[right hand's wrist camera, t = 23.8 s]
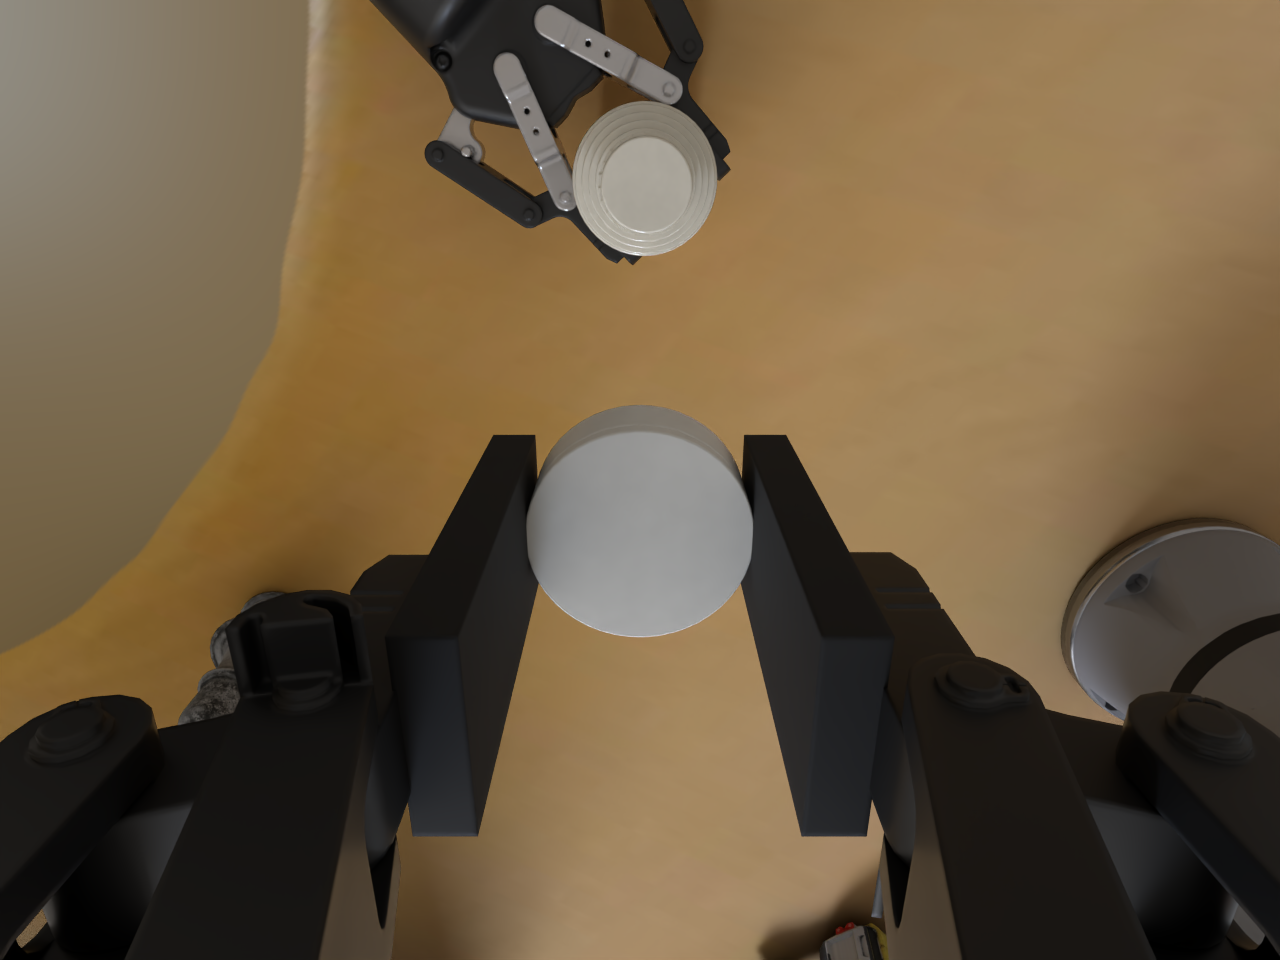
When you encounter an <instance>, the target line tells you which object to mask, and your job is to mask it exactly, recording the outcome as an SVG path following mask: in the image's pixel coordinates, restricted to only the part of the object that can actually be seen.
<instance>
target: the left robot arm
mask: <svg viewBox="0 0 1280 960" xmlns="http://www.w3.org/2000/svg"><path fill="white" fill-rule="evenodd" d="M370 1H371V2H372V3H373V5H374V6H375V7H376V8H377V9H378V10H379V11H380V12H381V13H382V14H383V15H384V16H385V17H386V18H387V19H388V21H389V22H390V23H391V24H392V25H393V26H394V27H395V28H396V29H397V30H398V31H399V32H400V33H401V34H402V35H403V37H404V38H405V39H406V40H407V41H408V42H409V43H410V44H411V45H412V46H413V47H414V48H415V49H416V50H417V52H418V53H419V54H420V55H421V56H422V57H423V58H424V59H425V60H426V61H427V62H428V63H429V64H430V65H431V66H432V68H433V69H434V70H435V71H436V72H437V73H438V74H439V76H440V77H441V79H442V80H443V82H444V84H445V86H446V88H447V91H448V94H449V98H450V101H451V103H452V105H453V106H454V109H453V111H452V113H451V115H450V116H449V118H448V120H447V122H446V124H445V126H444V128H443V130H442V132H441V134H440V136H439V138H438V140H435V141H432V142H430V143H429V144H428V145H427V146H426V148H425V158H426V161H427V162H428V164H429V165H430V166H432V167H433V168H435V169H436V170H438V171H439V172H441V173H442V174H444V175H445V176H447V177H448V178H450V179H451V180H453V181H454V182H456V183H458V184H459V185H461V186H462V187H464V188H465V189H467V190H468V191H470V192H471V193H473V194H474V195H476V196H477V197H479V198H480V199H482V200H484V201H485V202H487V203H488V204H490V205H491V206H493V207H494V208H496V209H497V210H499V211H500V212H502V213H503V214H505V215H506V216H508V217H510V218H511V219H513V220H514V221H516V222H517V223H519V224H520V225H522V226H523V227H526V228H534V227H536V226H537V225H540V224H542V223H544V222H546V221H548V220H550V219H552V218H555V217H565V218H568V219H569V220H571V221H572V222H573V223H574V224H575V225H576V226H577V227H578V228H579V230H580V231H581V232H582V233H583V234H584V235H585V236H586V237H587V238H588V239H589V240H590V241H591V242H592V243H593V245H594V246H595V247H596V248H597V249H598V250H599V251H600V252H601V253H602V254H603V255H604V256H605V257H606V258H607V259H609V260H611V261H613V262H615V263H618V262H619V261H620V260H621V259H622V258H623V257H625V258H626V259H627V260H628V261H629V262H630V263H631V264H632V265H634V264H635V263H636V262H637V261H638V260H639V259H640V258H641V257H642V256H637V255H630V254H627V253H623V252H620V251H618V250H616V249H614V248H612V247H610V246H608V245H607V244H605V243H604V242H603V241H601V240H600V239H599V238H598V237H597V236H596V235H595V234H594V233H593V232H592V231H591V230H590V229H589V227H588V226H587V225H586V223H585V222H584V220H583V218H582V216H581V214H580V212H579V210H578V207H577V205H576V201H575V197H574V192H573V185H572V173H573V171H572V168H571V166H570V164H569V161H568V159H567V157H566V154H565V151H564V148H563V146H562V143H561V141H560V139H559V136H558V134H557V132H556V129H555V128H558V127H559V126H560V125H561V123H562V122H563V121H564V120H565V119H566V118H567V117H568V116H569V114H570V112H571V110H572V108H573V106H574V104H575V102H576V101H577V100H578V99H579V98H581V97H582V96H584V95H585V94H587V93H589V92H590V91H592V90H593V89H594V88H595V87H596V86H597V85H598V83H599V82H600V81H601V80H602V79H603V76H605V77H607V78H609V79H611V80H612V81H614V82H616V83H618V84H620V85H622V86H624V87H626V88H628V89H630V90H632V91H634V92H636V93H638V94H640V95H641V96H643V97H645V98H647V99H649V100H651V101H653V102H659V103H663V104H666V105H670V106H672V107H674V108H676V109H678V110H680V111H681V112H683V113H684V114H686V115H687V116H688V117H690V118H691V119H692V120H693V121H694V122H695V123H696V124H697V125H698V126H699V128H700V129H701V130H702V131H703V133H704V135H705V136H706V138H707V139H708V142H709V144H710V146H711V148H712V151H713V154H714V157H715V162H716V167H717V180H719V181H720V180H721V179H722V178H723V177H724V176H725V175H726V174H727V173H728V172H729V171H730V170H731V169H730V168H729V166H728V165H727V164H726V163H725V161H724V160H723V159H724V158H725V157H726V156H727V155H728V154H729V153H730V149H729V146H728V143H727V140H726V139H725V137H724V136H723V135H722V134H721V133H720V131H719V130H718V129H717V128H716V127H715V125H714V124H713V123H712V122H711V121H710V119H709V118H708V117H707V116H706V115H705V113H704V112H703V111H702V110H701V109H700V107H699V106H698V105H697V104H696V103H695V101H694V100H693V99H692V98H691V96H690V94H689V91H688V81H689V78H690V75H691V73H692V71H693V69H694V67H695V65H696V63H697V60H698V58H699V57H700V56H701V54H702V51H703V41H702V39H701V36H700V34H699V32H698V30H697V28H696V26H695V24H694V22H693V20H692V18H691V16H690V14H689V12H688V10H687V7H686V5H685V3H684V1H683V0H645V2H646V4H647V6H648V8H649V10H650V12H651V14H652V16H653V18H654V20H655V22H656V24H657V26H658V28H659V30H660V32H661V34H662V36H663V38H664V40H665V42H666V44H667V46H668V48H669V50H670V52H671V53H670V55H669V57H668V60H667V62H666V64H665V66H664V69H662V68H660V67H658V66H656V65H655V64H653V63H651V62H649V61H647V60H646V59H644V58H642V57H641V56H639V55H638V54H637V53H635V52H633V51H632V50H630V49H628V48H626V47H625V46H623V45H621V44H619V43H617V42H616V41H614V40H612V39H610V38H608V37H607V36H606V34H605V27H604V19H603V12H602V4H601V0H370ZM475 120H476V121H481V122H486V123H491V124H496V125H501V126H506V127H511V128H516V129H520V130H521V133H522V135H523V137H524V139H525V142H526V144H527V146H528V148H529V151H530V153H531V155H532V157H533V159H534V161H535V163H536V165H537V166H538V168H539V170H540V172H541V175H542V177H543V179H544V181H545V184H546V186H547V188H548V191H546V192H544V193H542V194H540V195H538V196H533V195H532V194H530V193H529V192H527V191H526V190H524V189H523V188H521V187H520V186H518V185H517V184H515V183H514V182H512V181H511V180H509V179H508V178H506V177H505V176H503V175H502V174H500V173H499V172H497V171H496V170H494V169H493V168H491V167H490V166H488V165H487V164H485V163H484V162H483V160H484V158H485V148H484V145H483V144H482V143H481V142H480V141H479V140H478V139H477V138H476V136H475V134H474V130H473V125H474V122H475Z"/></svg>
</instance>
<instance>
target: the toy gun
mask: <svg viewBox="0 0 1280 960" xmlns="http://www.w3.org/2000/svg"><path fill="white" fill-rule="evenodd" d="M819 953H820V960H889V955H888V946H887V937H886V935H885V934H884V933H883V932H882V931H881V930H880V929H879V928H878V927H877V926H875V925H873V924H872V923H870V924H867V925H865V926H858V927H857V926H856V925H855V924H854V923H852V922H851V923H847V925H846V926H845V928H842V927H838V928H837V929H836V935H835V936H834V937H832V938H830V939H828V940H826V941H824V942H823V944H822V946H821V948H820V950H819Z"/></svg>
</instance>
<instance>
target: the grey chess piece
mask: <svg viewBox="0 0 1280 960" xmlns="http://www.w3.org/2000/svg"><path fill="white" fill-rule="evenodd" d="M283 594H285V593H282V592H267V593H261V594H259V595H257V596H254V597H253V598H251V599H250V600H249V601H248V602H247V603H246V604H245V606H244V607H243V609H242V610H241V613H242V612H244V611H245V610H247V609H249V608H250V607H252V606H254V605H255V604H257V603H260V602H262V601H265V600H268V599H271V598H274V597H277V596H279V595H283ZM233 619H234V618H233ZM233 619H231V620H228V621H226V622H225V623H223V624H222V625H221V626H220V627H219V628H218V629H217V630H216V632H215V633H214V635H213V637H212V639H211V644H210V652H211V658H212V660H213V662H214V665H215V667H216V669H213V670H211V671H209V672H207V673H206V674H205V675H204V676H203V677H202V678H201V680H200V681H199V684H198V693H197V695H196V696H195V697H194V698H193V699H192V701H191V702H190V703H189V704H188V706H187V707H186V708H185V709H184V711H183V712H182V714H181V715H180V718H179V721H178V725H181V724H186V723H191V722H196V721H201V720H206V719H211V718H215V717H219V716H222V715H226V714H230V713H234V711H235V708H236V706H237V704H238V701H239V699H240V694H239V690H238V685H237V681H236V676H235V672H234V668H233V663H232V659H231V655H230V650H229V646H228V642H227V637H226V633H225V628H226V627H227V626H228V625H229V624H230V623H231V621H232V620H233Z"/></svg>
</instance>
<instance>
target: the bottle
mask: <svg viewBox="0 0 1280 960" xmlns="http://www.w3.org/2000/svg"><path fill="white" fill-rule="evenodd" d="M572 185H573V192H574V197H575V201H576V205H577V207H578V210H579V212H580V214H581V216H582V218H583V220H584V222H585V223H586V225H587V226H588V227H589V229H590V230H591V231H592V232H593V233H594V234H595V235H596V236H597V237H598V238H599V239H600V240H601V241H603V242H604V243H605V244H607V245H608V246H610V247H612V248H614V249H616V250H618V251H620V252H623V253H627V254H630V255H637V256H652V255H659V254H662V253H666V252H669V251H671V250H674V249H676V248H677V247H679V246H681V245H683V244H684V243H685V242H687V241H688V240H689V239H691V238H692V237H693V236H694V235H695V234H696V233H697V232H698V230H699V229H700V228H701V226H702V225H703V224H704V222H705V220H706V219H707V217H708V215H709V213H710V211H711V208H712V206H713V203H714V199H715V195H716V189H717V167H716V162H715V157H714V154H713V151H712V148H711V146H710V144H709V142H708V139H707V138H706V136H705V135H704V133H703V131H702V130H701V129H700V128H699V126H698V125H697V124H696V123H695V122H694V121H693V120H692V119H691V118H690V117H688V116H687V115H686V114H684V113H683V112H681V111H680V110H678V109H676V108H674V107H672V106H670V105H666V104H663V103H659V102H653V101H637V102H630V103H627V104H623V105H620V106H618V107H616V108H614V109H612V110H610V111H609V112H607V113H605V114H604V115H603V116H601V117H600V118H599V119H598V120H597V121H596V122H595V123H594V124H593V125H592V126H591V127H590V128H589V130H588V131H587V133H586V134H585V136H584V137H583V139H582V141H581V143H580V145H579V147H578V150H577V153H576V156H575V160H574V164H573V173H572Z"/></svg>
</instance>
